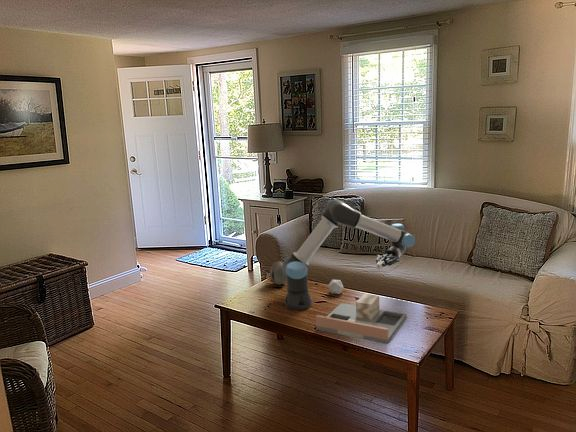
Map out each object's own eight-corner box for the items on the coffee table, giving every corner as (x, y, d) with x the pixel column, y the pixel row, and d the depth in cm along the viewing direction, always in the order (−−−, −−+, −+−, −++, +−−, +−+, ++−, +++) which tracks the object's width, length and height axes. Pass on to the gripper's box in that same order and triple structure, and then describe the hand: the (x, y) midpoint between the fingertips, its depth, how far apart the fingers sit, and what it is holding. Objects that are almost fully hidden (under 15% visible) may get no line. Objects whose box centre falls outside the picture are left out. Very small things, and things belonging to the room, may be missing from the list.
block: (356, 316, 232) (355, 302, 230) (364, 307, 242) (364, 293, 240) (371, 319, 228) (370, 304, 226) (379, 310, 238) (379, 295, 236)
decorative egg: (292, 283, 290) (291, 260, 287) (280, 288, 282) (278, 265, 278) (279, 279, 298) (277, 257, 295) (266, 285, 289) (265, 262, 286)
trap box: (316, 329, 225) (315, 316, 224) (341, 306, 250) (341, 294, 249) (387, 344, 207) (387, 329, 205) (406, 317, 232) (406, 304, 230)
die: (345, 292, 272) (338, 277, 275) (345, 290, 264) (338, 275, 267) (333, 298, 272) (326, 283, 275) (333, 296, 263) (325, 281, 266)
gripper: (404, 262, 261) (390, 275, 242) (381, 259, 268) (366, 271, 248) (404, 249, 260) (390, 261, 240) (380, 247, 267) (366, 258, 247)
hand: (378, 266), depth 244 cm, fingers closed
